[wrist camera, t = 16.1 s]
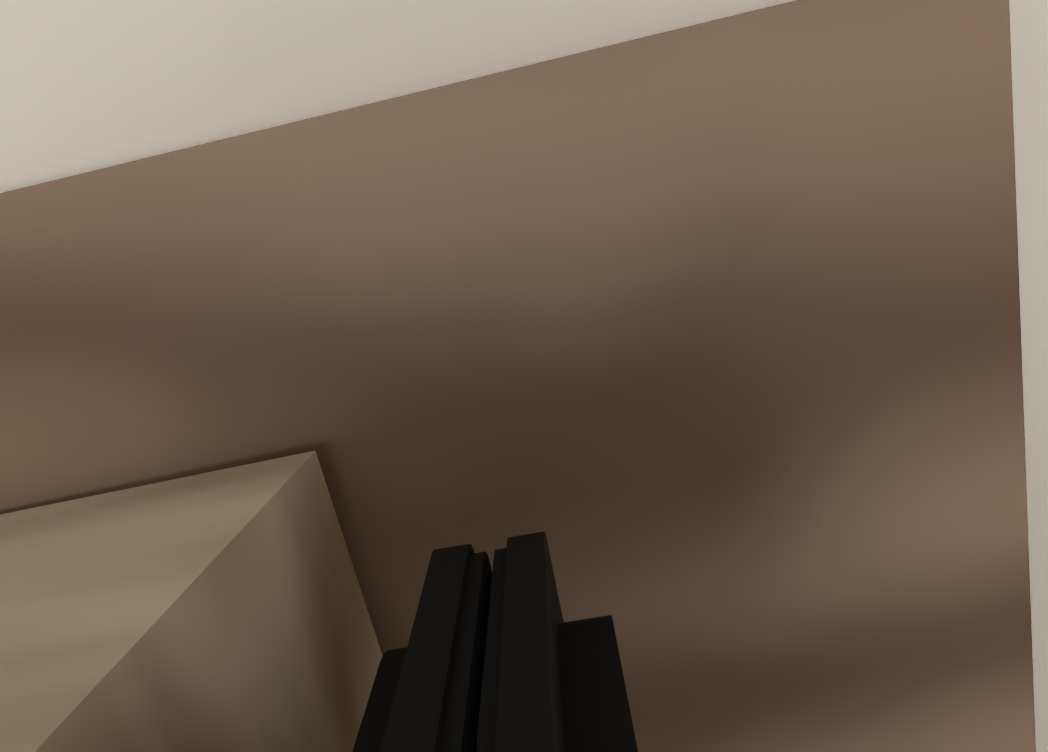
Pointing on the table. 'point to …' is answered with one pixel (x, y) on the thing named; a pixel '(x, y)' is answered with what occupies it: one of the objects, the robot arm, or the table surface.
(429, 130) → the board
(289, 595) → the beige wooden brick
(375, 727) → the robot arm
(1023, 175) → the table surface
